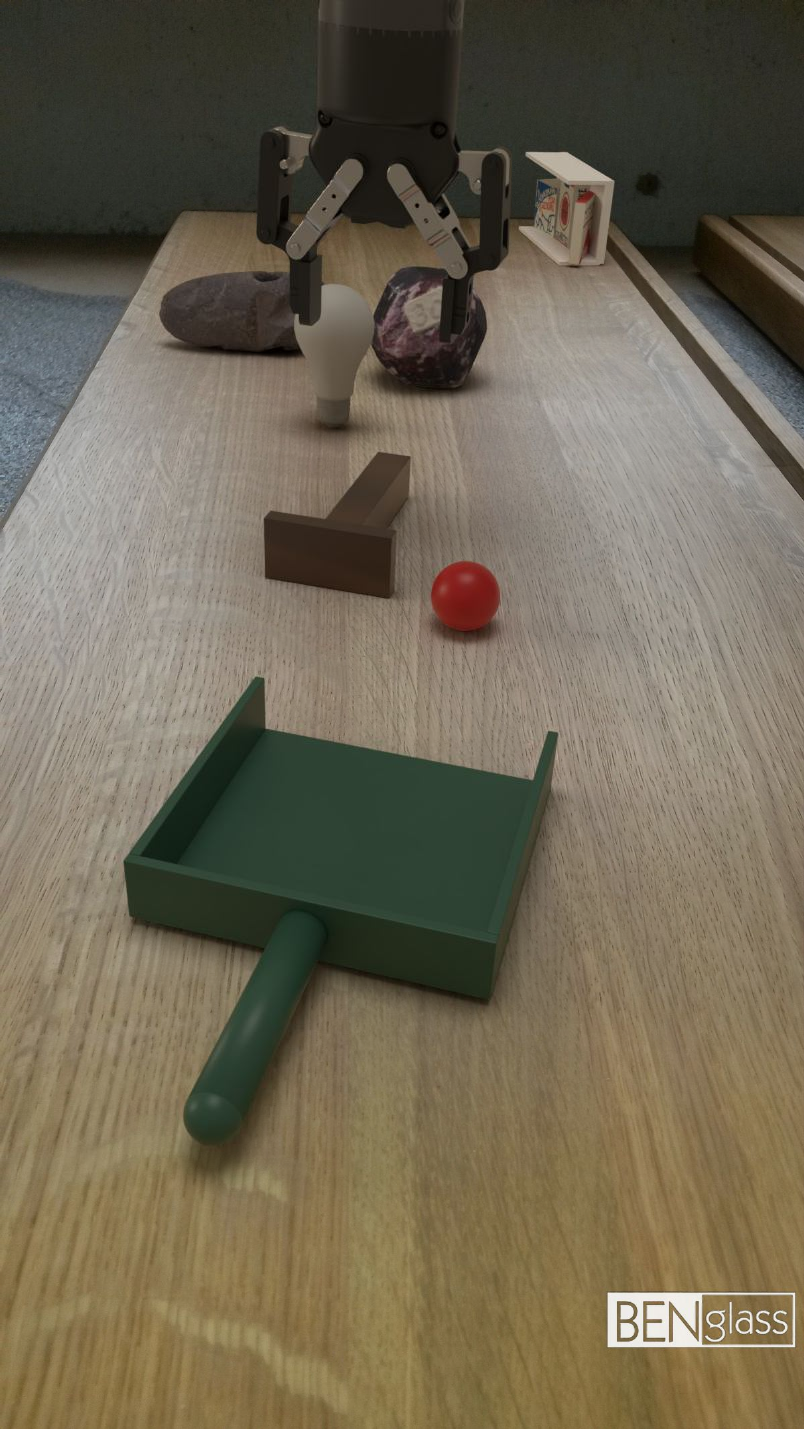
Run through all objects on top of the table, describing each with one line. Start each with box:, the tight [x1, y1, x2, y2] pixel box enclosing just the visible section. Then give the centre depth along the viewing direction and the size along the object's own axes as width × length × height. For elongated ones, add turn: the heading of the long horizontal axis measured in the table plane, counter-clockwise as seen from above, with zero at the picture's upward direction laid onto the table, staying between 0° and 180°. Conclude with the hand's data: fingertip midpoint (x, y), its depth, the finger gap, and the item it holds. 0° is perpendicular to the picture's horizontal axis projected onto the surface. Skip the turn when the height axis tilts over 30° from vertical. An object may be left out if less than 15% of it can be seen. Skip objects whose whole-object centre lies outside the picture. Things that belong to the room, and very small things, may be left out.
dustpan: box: [123, 676, 559, 1147], centre depth 49 cm, size 24×15×3 cm, turn 165°
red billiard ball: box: [430, 560, 501, 632], centre depth 70 cm, size 4×4×4 cm
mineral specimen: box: [370, 266, 488, 389], centre depth 105 cm, size 10×10×10 cm
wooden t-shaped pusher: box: [263, 451, 412, 599], centre depth 79 cm, size 15×8×4 cm, turn 165°
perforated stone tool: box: [158, 270, 325, 353], centre depth 111 cm, size 15×5×7 cm, turn 88°
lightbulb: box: [294, 283, 375, 428], centre depth 94 cm, size 6×6×11 cm
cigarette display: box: [518, 151, 615, 267], centre depth 149 cm, size 20×6×9 cm, turn 10°
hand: (378, 331), depth 72 cm, fingers open, 8 cm apart
